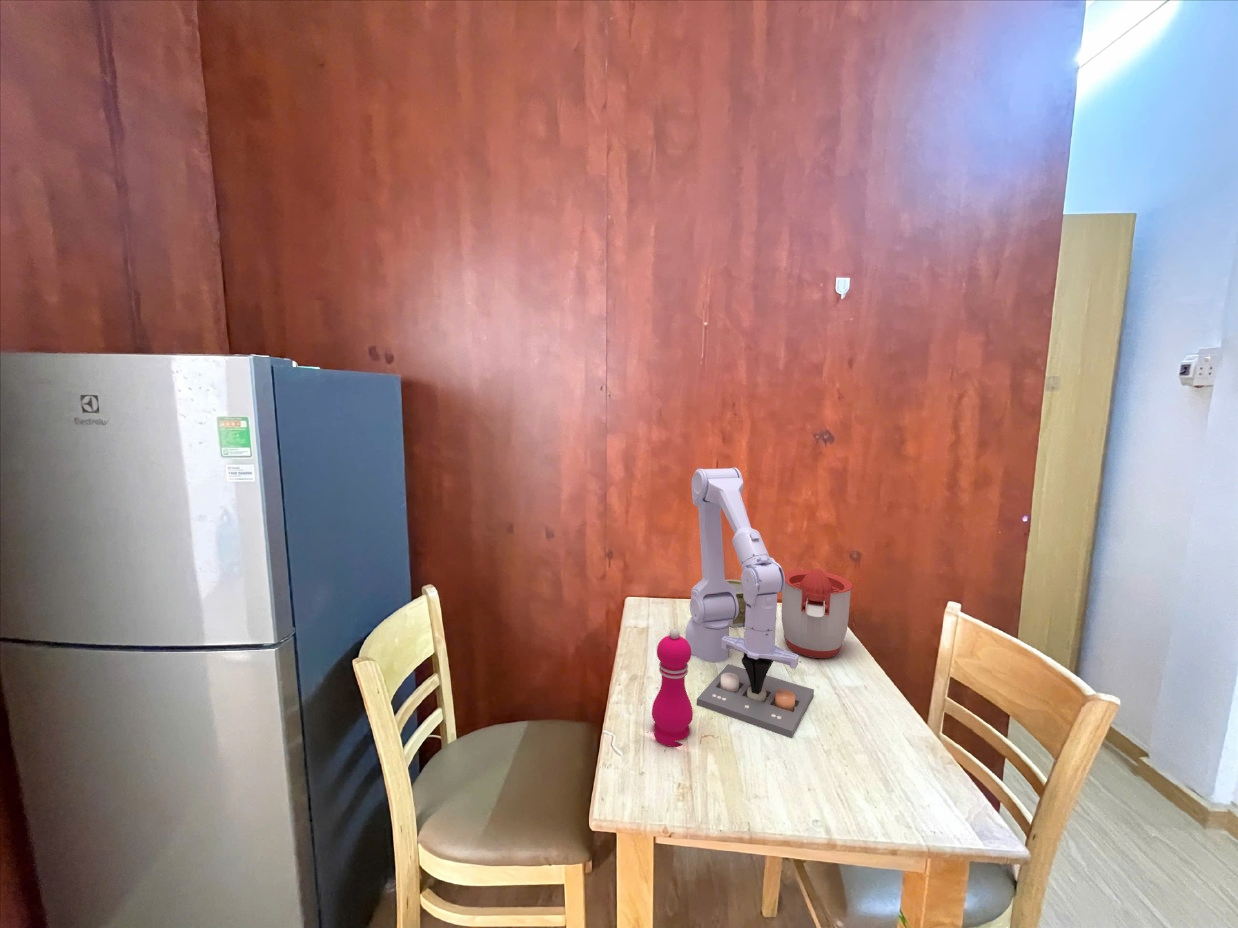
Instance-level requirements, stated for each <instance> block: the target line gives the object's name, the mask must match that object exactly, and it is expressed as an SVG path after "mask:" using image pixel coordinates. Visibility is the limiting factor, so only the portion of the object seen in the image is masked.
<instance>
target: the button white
mask: <svg viewBox="0 0 1238 928" xmlns="http://www.w3.org/2000/svg"><path fill="white" fill-rule="evenodd" d="M720 689H723V690H726V691H729V692H732V693H735V694H737V692H738V691H739V690H740V689H739V677H738V676H737V675H736V674H733V673H723V674H722V675H721V687H720Z"/></svg>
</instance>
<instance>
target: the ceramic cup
mask: <svg viewBox="0 0 1238 928" xmlns="http://www.w3.org/2000/svg"><path fill="white" fill-rule="evenodd" d="M725 580H726V581H727V582H728V583H730V584H731V585H732V586H734V587H735V592H736V597H737V600H738V604H739V613H738V615H737V617H736V619H734V620H733V624H731V625H730V628H741V627H743V626H745V611H746V602H745V601H744V597H743V587H742V583H741V580H738V579H725ZM720 593H723V592H720Z"/></svg>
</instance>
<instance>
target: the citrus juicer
mask: <svg viewBox="0 0 1238 928" xmlns="http://www.w3.org/2000/svg"><path fill="white" fill-rule="evenodd" d="M784 577H785V586H784V589H783V591H782V592H781V593H782V595H781V625H782V626H781V627H782V630H783V635H784V640H785V642H786V644H787V646H788V647H789V649H790V650H792V651H793V652H794V653H795V654H798V655H802V656H804V657H809V658H813V659H815V658H816V659H831V658H833V657H835V656H836V655H837V654H838V653H839V652H840V649H841V648H842V646H843V642H844V641H845V638H846V635H847V631H848V626H849V625H848V624H849V618H850V617H849V616H850V607H851V606H850V602H851V593H852V592H851V590H852V589H853V584H852V582H851V581H849V580H848V579H847V578H846V577H843V576H841V575H839V574H838V575H837V574H834V573H832V572H827V571H822V570H821V569H820V568H819V567H815V568H813V569H795V570H791V571H787V572H785V573H784Z"/></svg>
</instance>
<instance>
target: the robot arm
mask: <svg viewBox="0 0 1238 928" xmlns="http://www.w3.org/2000/svg"><path fill="white" fill-rule="evenodd" d="M692 475H693V476H692V478H691V496H692V497H691V498H692V505H694V506H696V507H698V524H699V525H698V526H699V527H698V528H699V540H700V541H699V542H700V543H699V544H700V556H701V557H700V559H701V560H700V561H701V578H702V579H701V580H699V581H698V582H697V583H696V584H695V585H694V586H693V587H691V589H690V590H691V591H690V593H691V594H690V601H689V610H690V615H691V617H690V618H689V620H688V622H687V625H686V627H685V637H684V639H686V640H687V641H688V643H689V645H690V647H691V657H692V656H693V657H696V658H698V659H700V660H703V661H705V662H709V663H722V662H724V661H726V660H728V658H729V652H730V651H729V649H730V650H732V651H736V652H740V653H743V656H742V658H741V664H742V666H743V668H744V669H745V670H746V672H747V674H748V677H749V681H750V685H751V690H752V693H755V694H759V693H760V692H761V691H762V686H763V683H764V680H765V677H766V675H767V674H768V672H769V670H770V668H771V666H772V664H773V663H774V662H776V663H780V664H781V665H786V666H789V668H791V669H795V670H796V668H797V667H798V666H799V655H800V654H798V653H793V652H791V651H788V650H786V649H784V648H781V647H780V646H777V645H776V644H775V643H776V630H777V629H776V624H777V611H778V610H777V608H778V594H780V593H783V589H784V586H785V577H784V574H785V573H784V570H783V567H782V566H781V565H780V563H778V562H776V560H775V558H773V557H770V555H769V551H768V549H767V547H766V545H765V542H764V541H763V538H762V536H761V533H760V532H759V530H757V529H755V528H752V525H751V522H750V519H749V517H748V514H747V510H746V507H745V503H744V500H743V498H742V494H743V490H744V480H743V475H742V473H741V471H740V470H739V469H738V468H737V467H731V468H697V469H696V470H695V471H694V473H693V474H692ZM722 511H723V514H724V515H725V518H726V520H727V521H728V524H729V525H730V527H731V530H732V531H733V534H734V535H733V537H732V539H731V543H732V546H733V549H734V551H735V554H736V556H737V559H738V561H739V564H740V567H741V569H742V572H741V575H740V581H741V583H742V587H743V597H744V601H745V602H746V611H745V624H744V632H743V633H744V636H743V638H742V637H734V636H730V629H731V627H730V625H731V624H733V620H734V619H736V617H737V615H738V613H739V604H738V600H737V597H736V592H735V587H734V586H732V585H731V584H730V583H728V582H727V581H726V580H727V579H726V578H725V575H726V574H725V559H724V544H723V528H722V514H721V513H722ZM720 592H723V593H720Z"/></svg>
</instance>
